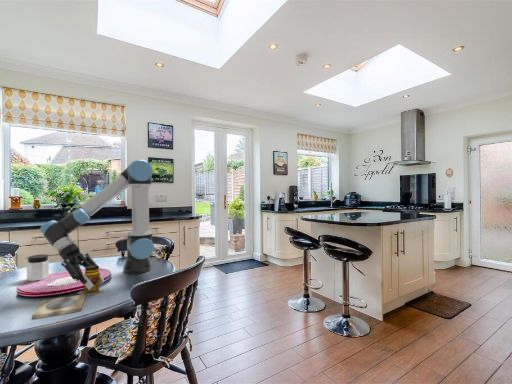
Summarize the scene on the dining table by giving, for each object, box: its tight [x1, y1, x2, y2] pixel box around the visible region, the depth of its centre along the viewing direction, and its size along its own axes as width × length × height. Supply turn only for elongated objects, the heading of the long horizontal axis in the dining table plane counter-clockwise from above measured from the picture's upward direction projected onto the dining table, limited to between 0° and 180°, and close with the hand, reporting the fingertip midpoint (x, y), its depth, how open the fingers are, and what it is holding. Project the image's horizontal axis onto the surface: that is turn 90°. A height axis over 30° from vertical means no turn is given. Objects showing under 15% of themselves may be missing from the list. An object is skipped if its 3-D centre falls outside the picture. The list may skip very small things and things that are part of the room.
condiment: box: [77, 264, 103, 296], centre depth 121 cm, size 7×8×12 cm
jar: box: [26, 254, 50, 282], centre depth 138 cm, size 9×8×12 cm
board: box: [32, 294, 86, 320], centre depth 105 cm, size 15×15×1 cm
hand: (97, 285), depth 120 cm, fingers closed on condiment, 6 cm apart
